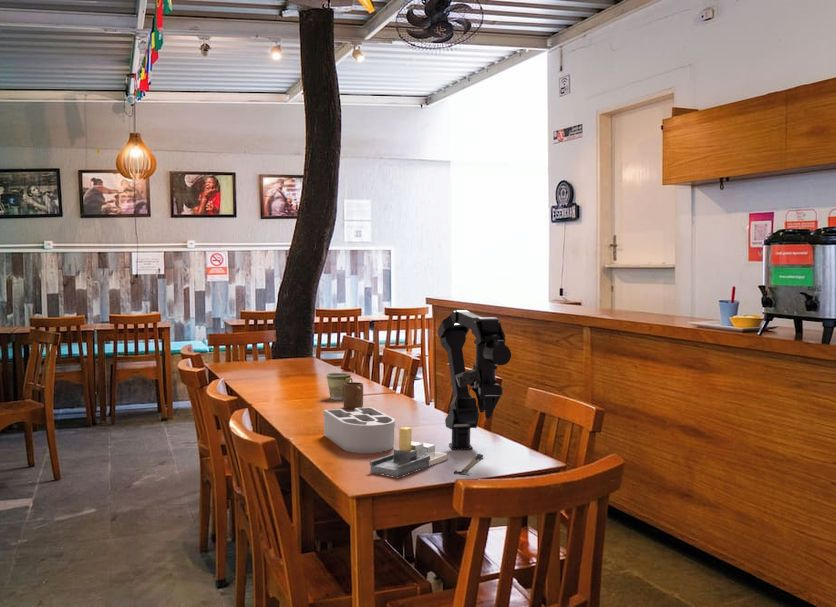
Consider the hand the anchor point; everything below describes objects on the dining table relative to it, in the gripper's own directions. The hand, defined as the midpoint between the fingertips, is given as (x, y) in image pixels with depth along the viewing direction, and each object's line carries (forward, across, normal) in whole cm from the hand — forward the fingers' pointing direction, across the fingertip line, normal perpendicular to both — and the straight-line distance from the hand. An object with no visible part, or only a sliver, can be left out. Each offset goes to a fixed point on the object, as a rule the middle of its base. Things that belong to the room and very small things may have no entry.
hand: (484, 415), depth 226 cm
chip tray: (+13, -1, -17) cm, 21 cm away
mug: (+13, -82, -34) cm, 90 cm away
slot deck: (+13, +9, -25) cm, 30 cm away
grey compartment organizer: (+13, -23, -34) cm, 44 cm away
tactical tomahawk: (+14, +6, -4) cm, 15 cm away
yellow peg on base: (+11, +7, -23) cm, 27 cm away
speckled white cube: (+11, +1, -18) cm, 21 cm away
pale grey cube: (+11, +4, -21) cm, 24 cm away
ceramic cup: (+13, -104, -39) cm, 112 cm away
